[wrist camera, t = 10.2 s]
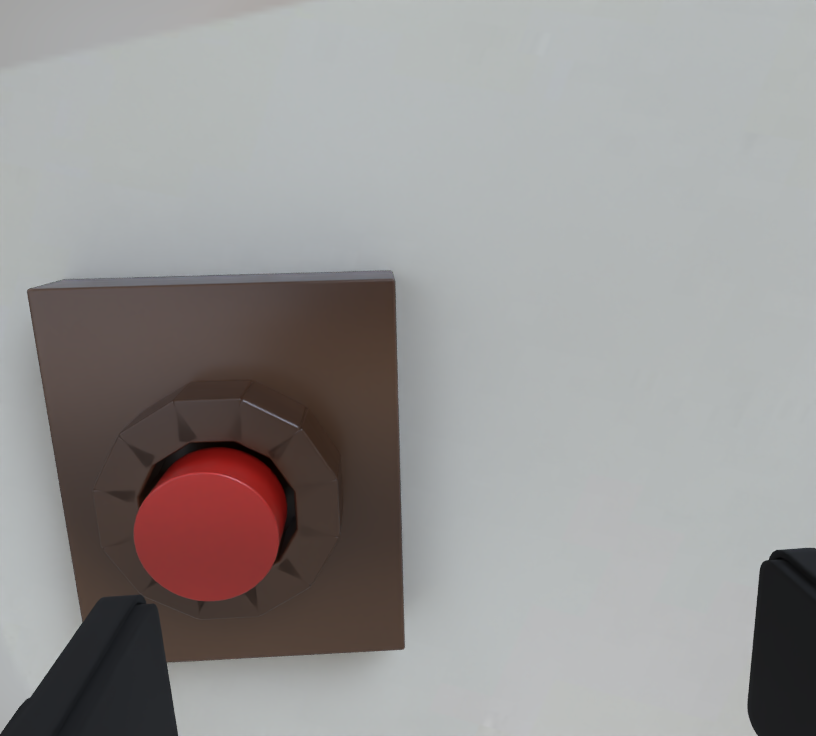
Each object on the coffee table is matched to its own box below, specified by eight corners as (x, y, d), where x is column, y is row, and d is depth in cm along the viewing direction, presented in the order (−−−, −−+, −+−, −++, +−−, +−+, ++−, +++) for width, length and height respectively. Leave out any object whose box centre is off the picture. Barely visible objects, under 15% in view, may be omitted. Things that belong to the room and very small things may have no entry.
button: (147, 448, 18) (123, 475, 16) (282, 443, 18) (273, 469, 16) (163, 568, 19) (142, 605, 17) (291, 562, 19) (283, 598, 17)
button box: (62, 279, 20) (-13, 299, 16) (392, 270, 20) (397, 287, 17) (115, 624, 23) (62, 711, 19) (402, 609, 23) (408, 690, 20)
